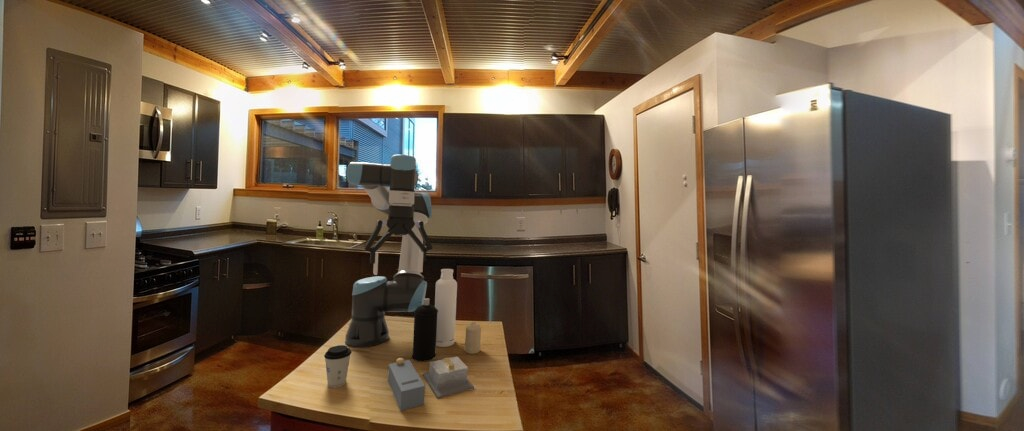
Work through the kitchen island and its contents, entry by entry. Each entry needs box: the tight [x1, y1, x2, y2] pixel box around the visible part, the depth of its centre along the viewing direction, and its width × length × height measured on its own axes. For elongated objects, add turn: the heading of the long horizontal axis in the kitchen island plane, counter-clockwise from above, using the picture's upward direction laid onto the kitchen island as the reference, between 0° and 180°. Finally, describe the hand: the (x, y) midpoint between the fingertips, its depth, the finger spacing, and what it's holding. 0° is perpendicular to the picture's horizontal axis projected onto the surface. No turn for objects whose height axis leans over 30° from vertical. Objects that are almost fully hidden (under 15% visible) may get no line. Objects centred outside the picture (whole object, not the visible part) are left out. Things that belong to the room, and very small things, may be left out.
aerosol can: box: [411, 297, 438, 362], centre depth 112 cm, size 8×8×20 cm
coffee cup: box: [323, 344, 352, 388], centre depth 93 cm, size 7×7×10 cm
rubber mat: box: [422, 371, 475, 399], centre depth 97 cm, size 14×11×1 cm
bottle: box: [434, 268, 458, 348], centre depth 124 cm, size 8×8×28 cm
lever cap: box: [428, 356, 469, 390], centre depth 97 cm, size 8×9×6 cm
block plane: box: [387, 357, 426, 412], centre depth 90 cm, size 16×6×6 cm, turn 32°
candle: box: [464, 321, 482, 355], centre depth 119 cm, size 6×6×10 cm
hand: (398, 272), depth 102 cm, fingers open, 13 cm apart
